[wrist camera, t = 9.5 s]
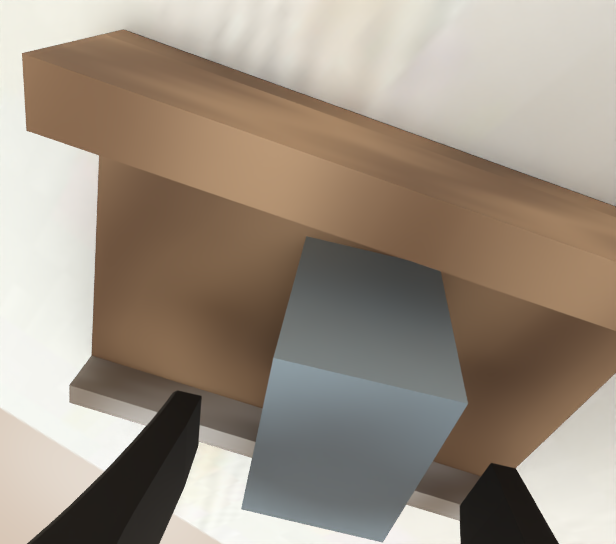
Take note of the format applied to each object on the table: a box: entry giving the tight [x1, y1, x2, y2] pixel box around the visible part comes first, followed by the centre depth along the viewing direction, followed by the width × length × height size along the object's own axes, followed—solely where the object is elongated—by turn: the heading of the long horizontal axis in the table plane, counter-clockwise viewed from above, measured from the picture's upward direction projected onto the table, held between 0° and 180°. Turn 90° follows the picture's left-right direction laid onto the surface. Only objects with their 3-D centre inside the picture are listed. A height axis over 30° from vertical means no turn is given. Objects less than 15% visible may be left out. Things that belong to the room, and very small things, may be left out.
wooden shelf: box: [22, 30, 616, 521], centre depth 14 cm, size 17×13×4 cm
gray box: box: [241, 236, 468, 542], centre depth 13 cm, size 4×6×5 cm, turn 169°
